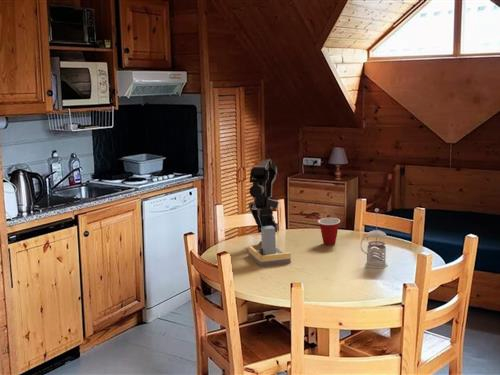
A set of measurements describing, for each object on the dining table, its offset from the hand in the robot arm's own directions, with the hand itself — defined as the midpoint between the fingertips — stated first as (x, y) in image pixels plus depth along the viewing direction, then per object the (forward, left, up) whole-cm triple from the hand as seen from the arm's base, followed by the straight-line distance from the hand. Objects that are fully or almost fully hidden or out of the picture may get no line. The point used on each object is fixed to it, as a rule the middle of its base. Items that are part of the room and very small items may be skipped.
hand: (260, 226), depth 275 cm
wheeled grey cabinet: (+11, 0, -11) cm, 15 cm away
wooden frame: (+10, 0, -13) cm, 16 cm away
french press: (+35, +40, -13) cm, 55 cm away
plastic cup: (-3, +36, -13) cm, 38 cm away
